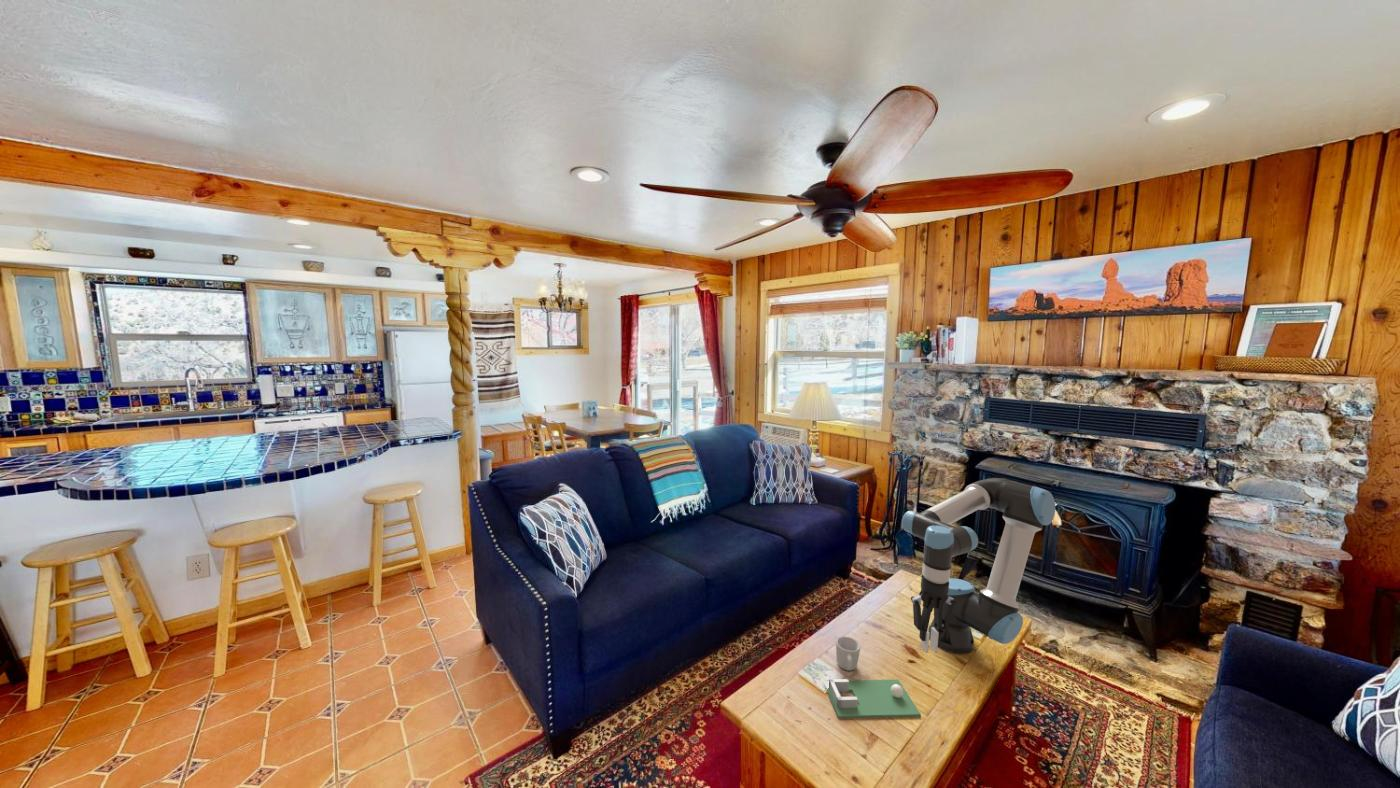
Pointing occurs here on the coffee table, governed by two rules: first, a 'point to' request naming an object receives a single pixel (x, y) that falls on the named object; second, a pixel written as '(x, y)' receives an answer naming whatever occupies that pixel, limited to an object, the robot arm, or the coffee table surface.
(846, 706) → the white u-shaped bracket
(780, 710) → the coffee table surface
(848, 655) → the cup
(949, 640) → the robot arm
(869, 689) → the green mat
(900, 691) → the ball
